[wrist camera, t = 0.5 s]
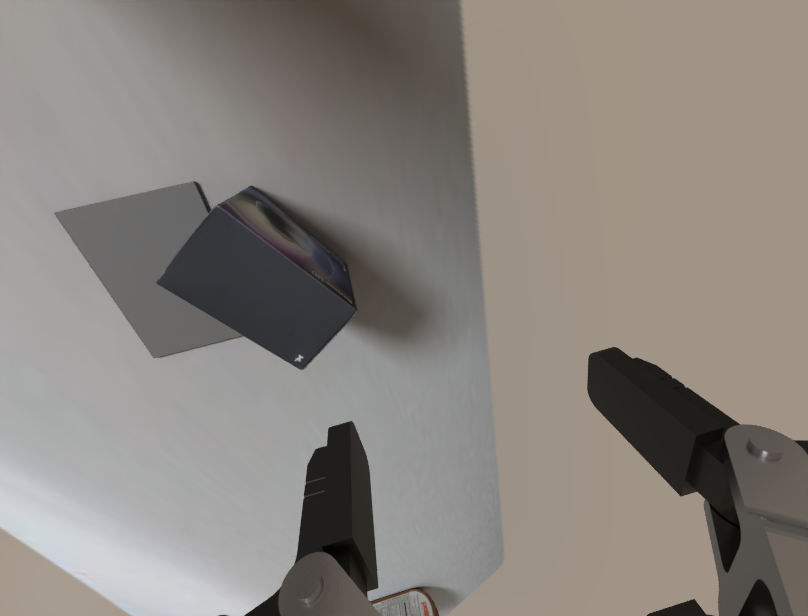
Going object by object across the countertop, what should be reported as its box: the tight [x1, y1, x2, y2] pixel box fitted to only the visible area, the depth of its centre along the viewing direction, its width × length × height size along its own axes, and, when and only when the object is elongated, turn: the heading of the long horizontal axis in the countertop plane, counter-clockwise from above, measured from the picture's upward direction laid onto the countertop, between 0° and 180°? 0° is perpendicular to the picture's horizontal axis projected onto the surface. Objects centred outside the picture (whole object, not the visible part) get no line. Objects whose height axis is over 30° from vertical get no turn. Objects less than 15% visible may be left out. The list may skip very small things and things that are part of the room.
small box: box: [156, 186, 357, 370], centre depth 26 cm, size 11×6×10 cm, turn 45°
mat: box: [54, 181, 243, 358], centre depth 30 cm, size 14×10×1 cm
